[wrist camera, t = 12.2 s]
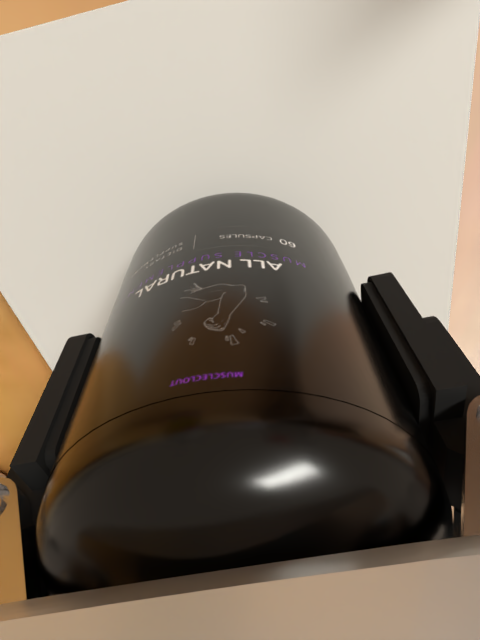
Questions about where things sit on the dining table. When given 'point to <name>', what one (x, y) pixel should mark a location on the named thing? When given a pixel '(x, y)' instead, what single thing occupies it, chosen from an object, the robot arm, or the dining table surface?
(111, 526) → the supplement bottle
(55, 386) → the robot arm
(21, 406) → the dining table surface
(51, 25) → the white square board
